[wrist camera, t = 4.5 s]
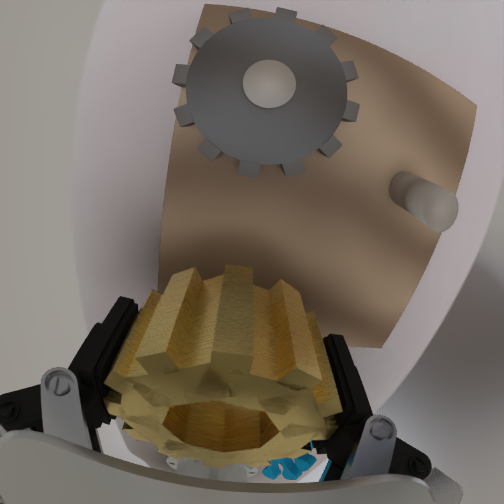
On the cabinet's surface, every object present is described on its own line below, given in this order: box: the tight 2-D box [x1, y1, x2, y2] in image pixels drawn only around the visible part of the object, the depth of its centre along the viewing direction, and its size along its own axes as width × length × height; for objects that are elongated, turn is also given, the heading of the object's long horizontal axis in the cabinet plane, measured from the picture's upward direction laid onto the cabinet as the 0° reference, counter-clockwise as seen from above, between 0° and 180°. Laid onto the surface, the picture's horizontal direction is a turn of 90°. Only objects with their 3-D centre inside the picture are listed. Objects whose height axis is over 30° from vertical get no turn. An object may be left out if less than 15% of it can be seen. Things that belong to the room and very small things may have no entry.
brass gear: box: [103, 264, 343, 468], centre depth 9 cm, size 7×7×4 cm
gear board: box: [158, 4, 477, 348], centre depth 12 cm, size 17×15×5 cm
